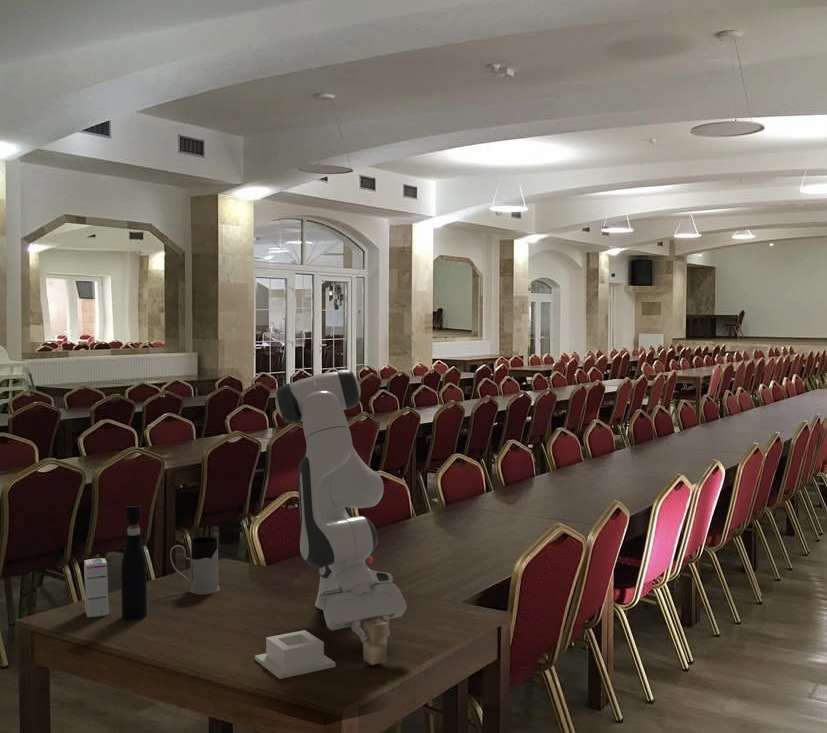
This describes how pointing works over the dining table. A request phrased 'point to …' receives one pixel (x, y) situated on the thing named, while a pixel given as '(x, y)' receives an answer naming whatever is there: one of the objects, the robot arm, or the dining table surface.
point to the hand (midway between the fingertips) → (376, 638)
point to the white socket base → (294, 654)
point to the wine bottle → (134, 570)
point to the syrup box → (96, 587)
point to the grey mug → (202, 565)
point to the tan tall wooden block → (375, 641)
